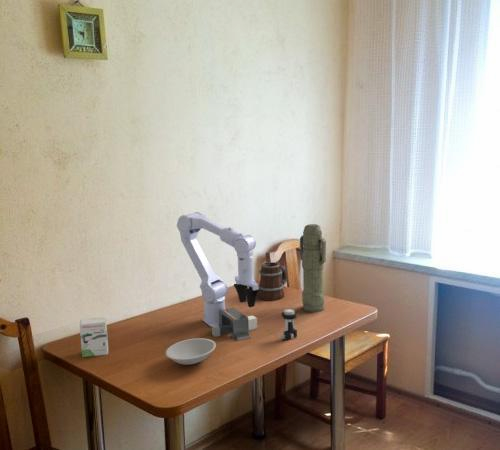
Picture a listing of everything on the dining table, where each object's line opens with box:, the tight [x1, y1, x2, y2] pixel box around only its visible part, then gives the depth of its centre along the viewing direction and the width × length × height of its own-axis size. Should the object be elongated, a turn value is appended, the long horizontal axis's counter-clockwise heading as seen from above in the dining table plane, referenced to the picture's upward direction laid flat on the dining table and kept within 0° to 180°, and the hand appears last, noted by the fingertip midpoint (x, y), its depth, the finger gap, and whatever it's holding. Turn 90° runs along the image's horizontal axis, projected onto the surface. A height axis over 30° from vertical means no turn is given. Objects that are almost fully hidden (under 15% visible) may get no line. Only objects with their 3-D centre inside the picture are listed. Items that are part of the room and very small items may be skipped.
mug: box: [257, 261, 288, 301], centre depth 231 cm, size 16×12×15 cm
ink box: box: [79, 316, 109, 358], centre depth 174 cm, size 9×5×12 cm, turn 103°
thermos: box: [299, 223, 327, 313], centre depth 210 cm, size 9×12×35 cm
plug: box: [211, 315, 258, 338], centre depth 190 cm, size 4×17×4 cm, turn 116°
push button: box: [280, 308, 298, 341], centre depth 182 cm, size 7×5×10 cm
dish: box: [165, 337, 217, 366], centre depth 164 cm, size 18×14×5 cm
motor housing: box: [218, 307, 252, 341], centre depth 190 cm, size 18×6×7 cm, turn 26°
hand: (247, 304), depth 192 cm, fingers open, 6 cm apart
